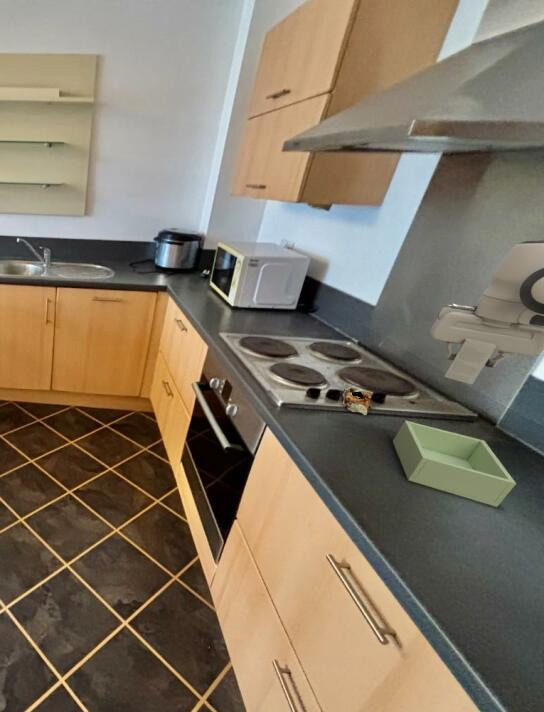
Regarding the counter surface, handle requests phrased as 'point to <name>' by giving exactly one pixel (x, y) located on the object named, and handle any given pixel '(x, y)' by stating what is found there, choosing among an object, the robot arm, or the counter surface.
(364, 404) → the pastry
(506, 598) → the counter surface
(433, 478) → the sorting bin
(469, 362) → the small box
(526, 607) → the counter surface
